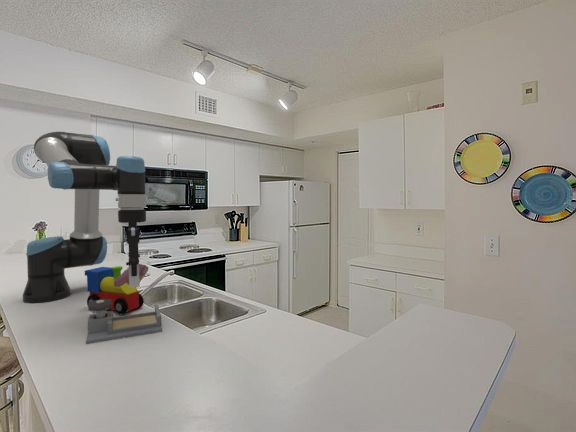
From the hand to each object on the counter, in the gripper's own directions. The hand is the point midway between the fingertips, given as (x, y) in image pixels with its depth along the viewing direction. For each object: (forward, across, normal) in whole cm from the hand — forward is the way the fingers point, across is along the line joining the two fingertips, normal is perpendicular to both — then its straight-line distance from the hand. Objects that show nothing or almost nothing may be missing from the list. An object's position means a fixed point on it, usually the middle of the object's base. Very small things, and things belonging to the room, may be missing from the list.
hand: (134, 282), depth 99 cm
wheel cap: (+10, 0, -9) cm, 14 cm away
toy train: (+14, -21, -7) cm, 26 cm away
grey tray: (+13, 0, -2) cm, 14 cm away
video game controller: (0, 0, 0) cm, 1 cm away
